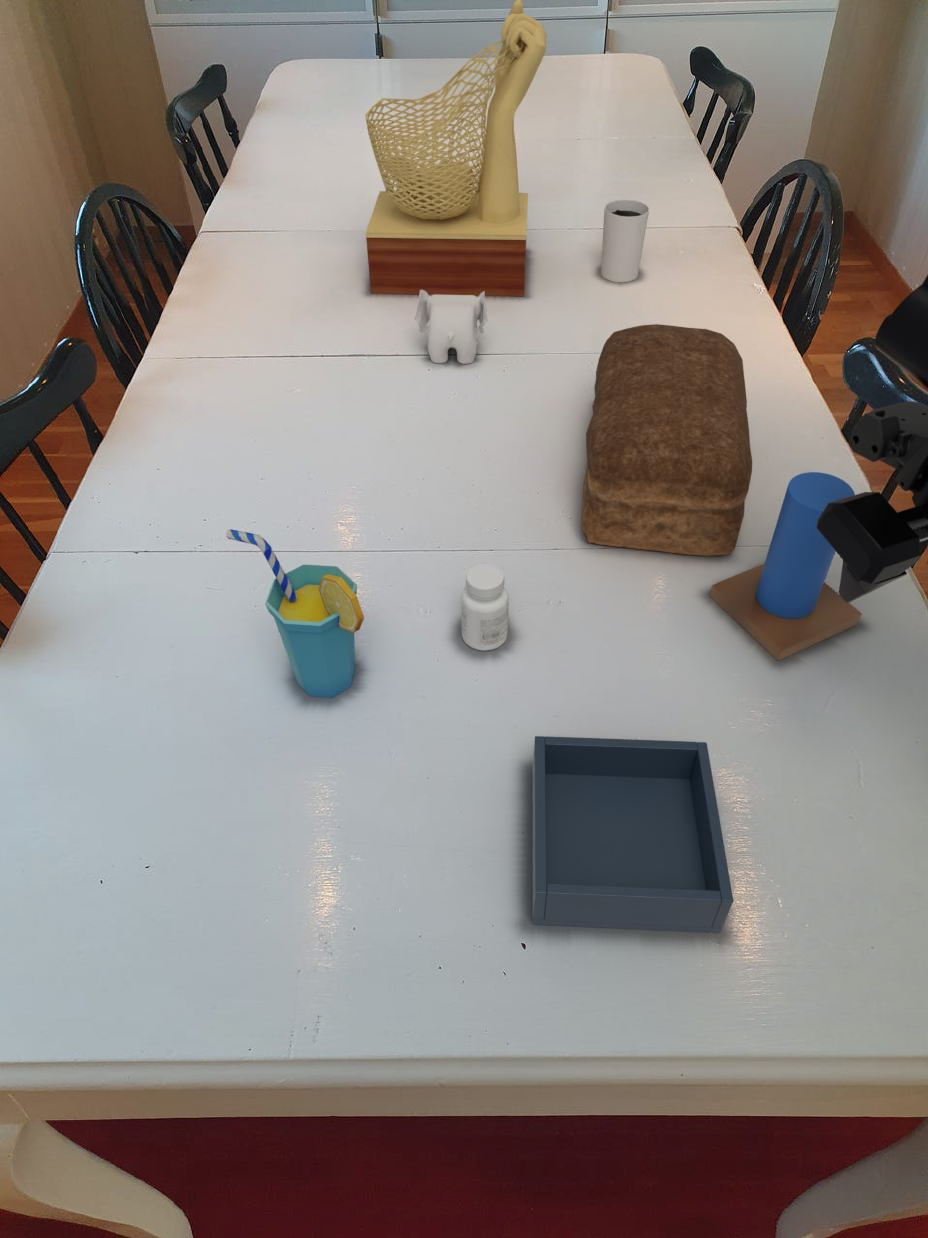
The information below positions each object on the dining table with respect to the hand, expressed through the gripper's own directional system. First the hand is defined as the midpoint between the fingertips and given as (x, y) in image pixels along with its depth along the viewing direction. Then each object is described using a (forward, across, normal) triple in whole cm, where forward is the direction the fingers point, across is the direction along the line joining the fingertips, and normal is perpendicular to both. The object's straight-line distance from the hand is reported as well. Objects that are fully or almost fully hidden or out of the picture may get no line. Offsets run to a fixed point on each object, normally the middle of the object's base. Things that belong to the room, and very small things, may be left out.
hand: (889, 582), depth 72 cm
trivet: (+15, -2, -8) cm, 17 cm away
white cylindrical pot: (+28, -26, -77) cm, 86 cm away
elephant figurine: (+27, +7, -66) cm, 72 cm away
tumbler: (+13, -2, -8) cm, 16 cm away
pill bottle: (+18, +26, -16) cm, 35 cm away
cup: (+19, +42, -18) cm, 49 cm away
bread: (+20, -3, -31) cm, 37 cm away
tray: (+13, +26, +8) cm, 30 cm away
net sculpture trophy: (+31, -4, -88) cm, 93 cm away
